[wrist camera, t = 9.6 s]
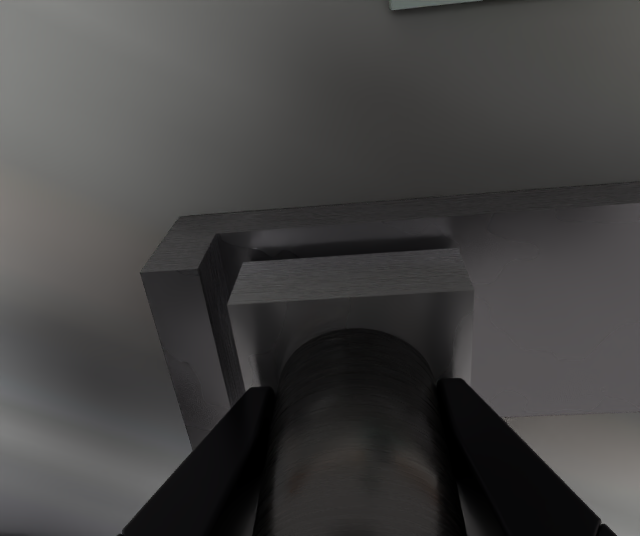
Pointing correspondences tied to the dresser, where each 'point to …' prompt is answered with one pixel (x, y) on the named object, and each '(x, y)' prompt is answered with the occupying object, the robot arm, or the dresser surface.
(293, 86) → the dresser surface
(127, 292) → the dresser surface
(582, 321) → the rail
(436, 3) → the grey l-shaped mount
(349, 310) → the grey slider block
